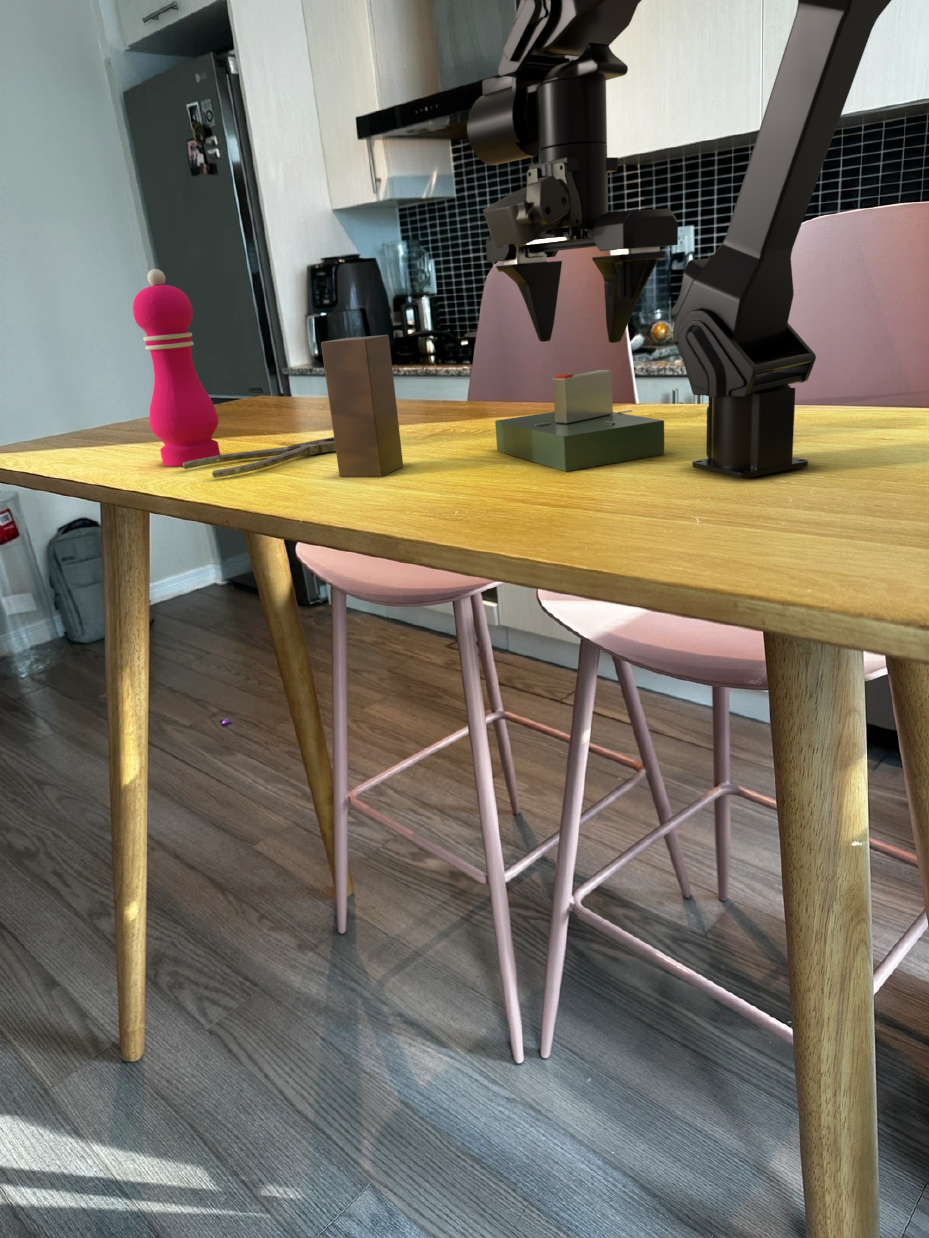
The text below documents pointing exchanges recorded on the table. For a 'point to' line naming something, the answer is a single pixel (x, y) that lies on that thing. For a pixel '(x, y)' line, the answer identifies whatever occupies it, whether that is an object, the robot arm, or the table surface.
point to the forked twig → (278, 454)
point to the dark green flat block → (580, 439)
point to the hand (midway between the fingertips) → (578, 342)
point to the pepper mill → (175, 375)
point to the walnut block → (363, 405)
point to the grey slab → (582, 396)
